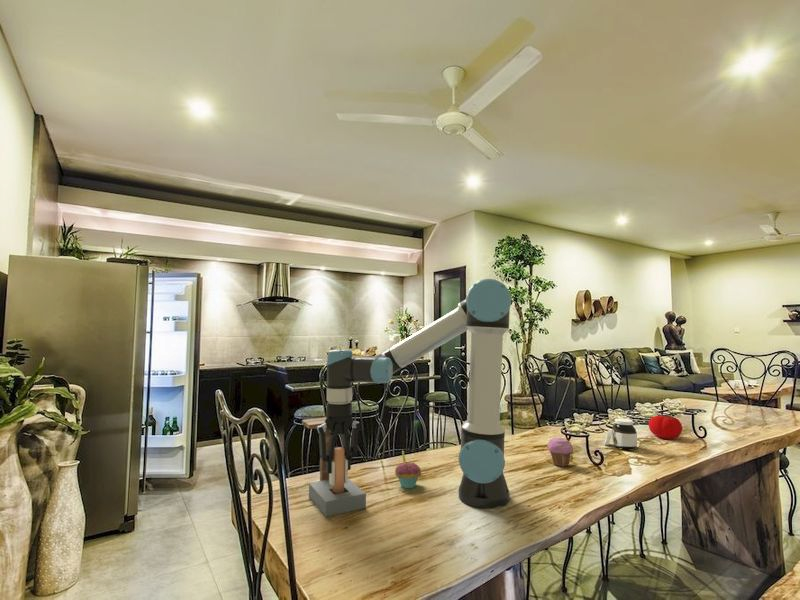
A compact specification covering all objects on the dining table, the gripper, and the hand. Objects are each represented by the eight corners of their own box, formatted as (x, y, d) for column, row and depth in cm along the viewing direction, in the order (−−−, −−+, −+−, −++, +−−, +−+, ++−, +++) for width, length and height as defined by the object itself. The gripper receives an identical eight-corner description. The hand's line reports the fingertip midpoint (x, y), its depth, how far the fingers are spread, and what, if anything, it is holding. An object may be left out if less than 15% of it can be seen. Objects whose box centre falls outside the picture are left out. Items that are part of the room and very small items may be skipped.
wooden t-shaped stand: (352, 491, 131) (352, 420, 133) (308, 500, 125) (309, 425, 126) (343, 483, 138) (343, 415, 140) (301, 491, 132) (302, 420, 133)
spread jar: (640, 451, 173) (639, 422, 174) (613, 451, 173) (612, 422, 174) (625, 443, 185) (624, 416, 186) (599, 443, 185) (598, 416, 186)
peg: (341, 494, 124) (342, 446, 125) (345, 498, 121) (346, 449, 122) (330, 496, 123) (331, 448, 124) (334, 500, 120) (335, 450, 121)
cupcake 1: (402, 492, 131) (402, 453, 131) (390, 483, 138) (390, 446, 139) (426, 487, 135) (425, 449, 135) (413, 479, 142) (412, 443, 143)
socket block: (365, 507, 119) (365, 493, 120) (325, 516, 114) (325, 501, 114) (345, 489, 134) (345, 476, 134) (308, 496, 128) (309, 483, 128)
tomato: (656, 440, 189) (655, 417, 190) (645, 433, 201) (644, 411, 202) (688, 441, 187) (687, 417, 187) (675, 434, 199) (674, 412, 200)
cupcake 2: (565, 470, 150) (565, 442, 151) (543, 464, 156) (543, 437, 157) (577, 465, 156) (576, 437, 156) (555, 459, 162) (554, 433, 163)
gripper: (359, 397, 131) (359, 474, 130) (308, 402, 123) (307, 483, 122) (369, 401, 124) (369, 482, 123) (316, 406, 117) (315, 492, 115)
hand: (338, 482), depth 122 cm, fingers closed on peg, 3 cm apart
